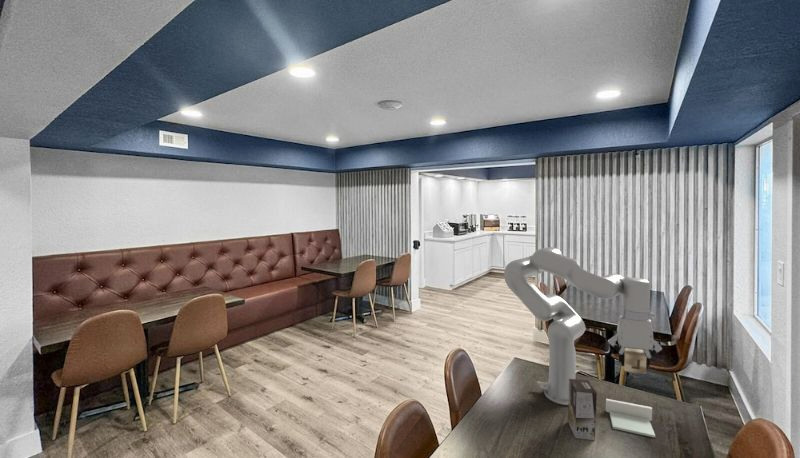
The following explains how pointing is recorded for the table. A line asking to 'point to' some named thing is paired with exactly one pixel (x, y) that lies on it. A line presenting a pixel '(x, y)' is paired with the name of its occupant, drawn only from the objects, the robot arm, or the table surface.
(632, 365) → the maple cube
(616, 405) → the cream screen
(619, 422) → the sage pad
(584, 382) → the coffee box
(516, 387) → the table surface
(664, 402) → the table surface
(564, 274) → the robot arm
